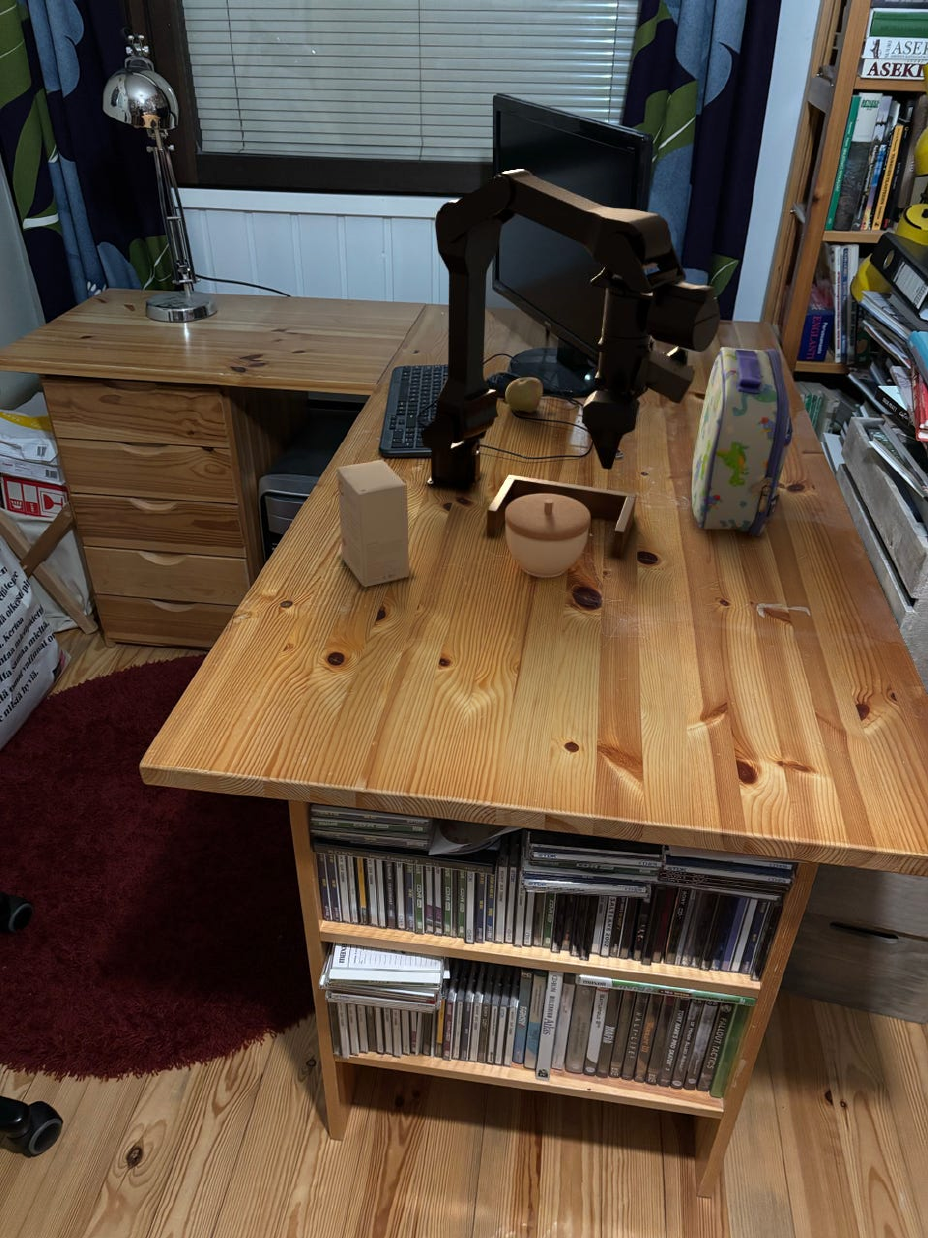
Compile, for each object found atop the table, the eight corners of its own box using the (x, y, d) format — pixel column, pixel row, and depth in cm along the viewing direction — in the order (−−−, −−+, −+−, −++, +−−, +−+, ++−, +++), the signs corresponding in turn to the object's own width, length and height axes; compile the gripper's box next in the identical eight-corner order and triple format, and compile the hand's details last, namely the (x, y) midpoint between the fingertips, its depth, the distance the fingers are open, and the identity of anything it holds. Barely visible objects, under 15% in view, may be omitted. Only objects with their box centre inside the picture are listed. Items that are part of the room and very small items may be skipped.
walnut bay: (486, 535, 127) (487, 509, 125) (507, 499, 136) (508, 474, 134) (620, 558, 123) (623, 531, 121) (633, 519, 132) (636, 493, 130)
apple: (551, 417, 161) (553, 384, 158) (504, 416, 161) (506, 383, 158) (549, 404, 166) (552, 372, 162) (504, 402, 166) (506, 370, 163)
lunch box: (771, 551, 125) (807, 402, 113) (690, 543, 127) (716, 395, 115) (758, 467, 146) (786, 334, 134) (688, 461, 148) (710, 329, 136)
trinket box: (498, 545, 125) (500, 482, 120) (576, 543, 126) (583, 480, 121) (507, 589, 116) (511, 523, 111) (592, 586, 117) (600, 521, 112)
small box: (410, 577, 118) (408, 484, 111) (363, 588, 116) (358, 495, 109) (386, 547, 124) (383, 457, 117) (341, 557, 122) (334, 467, 114)
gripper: (689, 365, 100) (669, 495, 109) (702, 314, 115) (683, 432, 124) (587, 354, 103) (575, 481, 112) (612, 305, 118) (600, 422, 126)
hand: (612, 453), depth 118 cm, fingers open, 9 cm apart
